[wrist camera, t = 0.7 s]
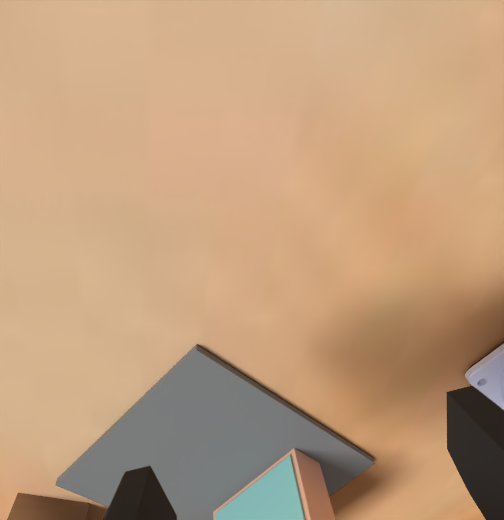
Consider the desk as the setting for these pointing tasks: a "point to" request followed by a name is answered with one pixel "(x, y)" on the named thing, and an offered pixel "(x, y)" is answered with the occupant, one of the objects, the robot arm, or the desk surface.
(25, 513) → the walnut cube
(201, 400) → the mat
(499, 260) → the desk surface
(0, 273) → the desk surface
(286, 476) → the block
